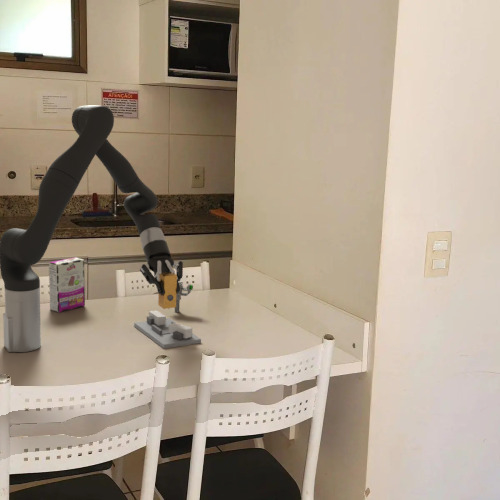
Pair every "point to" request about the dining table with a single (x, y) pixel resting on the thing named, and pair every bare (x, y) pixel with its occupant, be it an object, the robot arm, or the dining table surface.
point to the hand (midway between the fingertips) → (170, 293)
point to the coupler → (168, 290)
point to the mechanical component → (182, 294)
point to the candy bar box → (66, 284)
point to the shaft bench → (166, 331)
